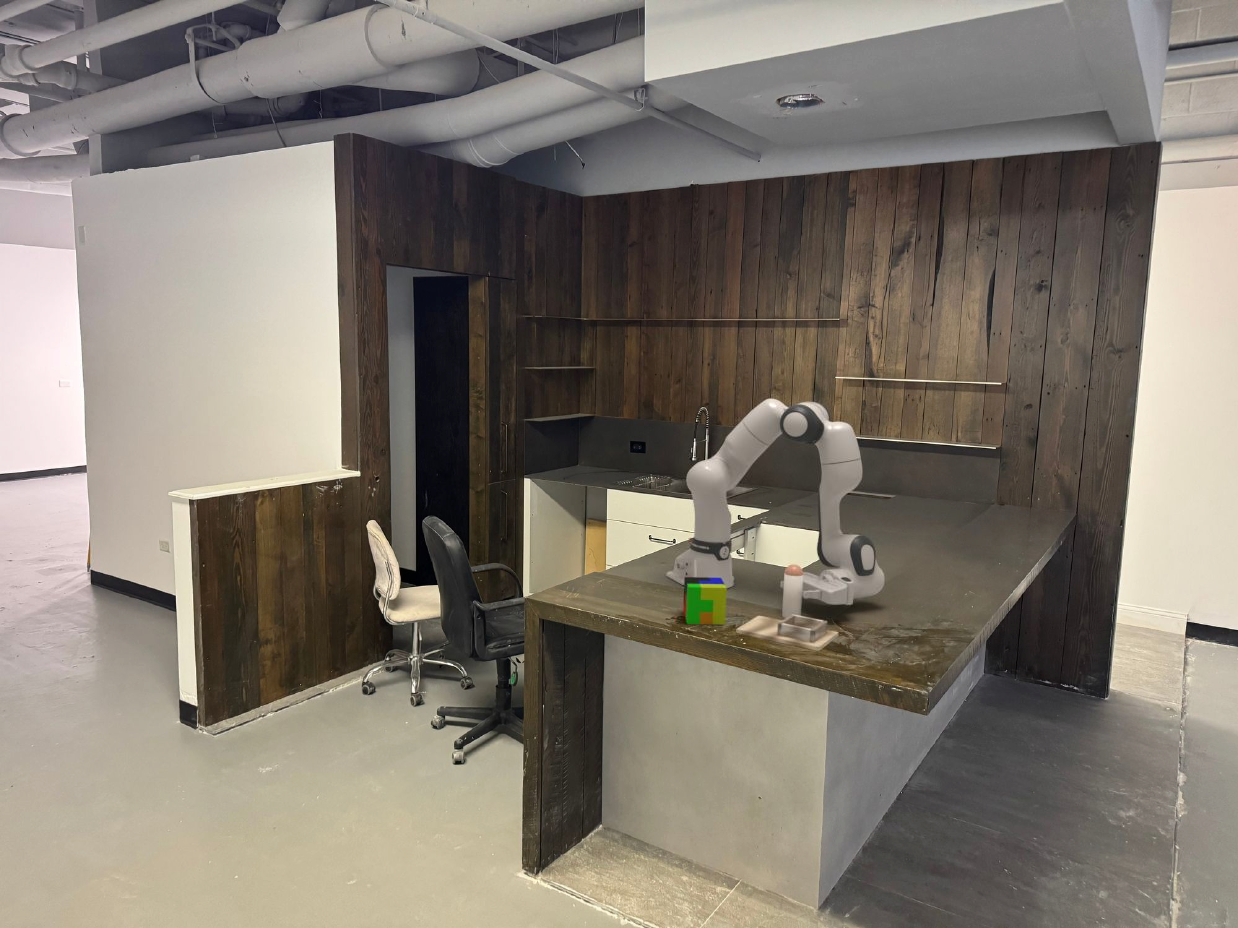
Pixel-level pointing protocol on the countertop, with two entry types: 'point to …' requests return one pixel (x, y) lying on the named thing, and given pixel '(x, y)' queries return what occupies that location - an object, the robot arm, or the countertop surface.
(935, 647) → the countertop surface
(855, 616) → the countertop surface
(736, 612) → the countertop surface
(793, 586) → the dome-capped white cylinder
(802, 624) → the jig cradle
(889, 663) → the countertop surface
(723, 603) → the puzzle toy
